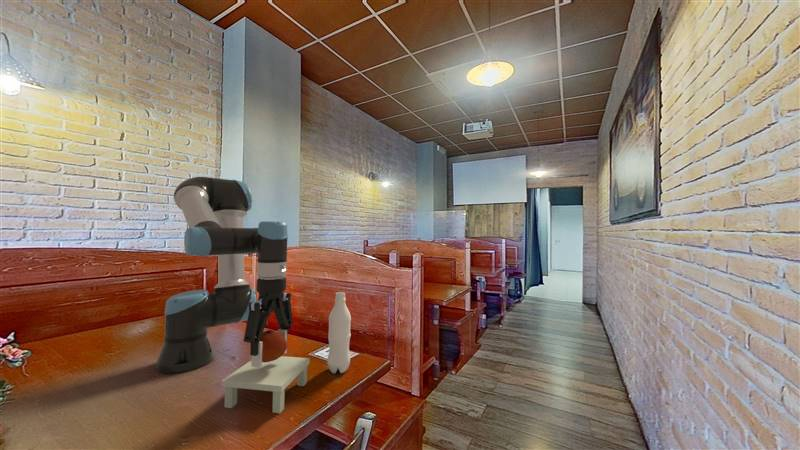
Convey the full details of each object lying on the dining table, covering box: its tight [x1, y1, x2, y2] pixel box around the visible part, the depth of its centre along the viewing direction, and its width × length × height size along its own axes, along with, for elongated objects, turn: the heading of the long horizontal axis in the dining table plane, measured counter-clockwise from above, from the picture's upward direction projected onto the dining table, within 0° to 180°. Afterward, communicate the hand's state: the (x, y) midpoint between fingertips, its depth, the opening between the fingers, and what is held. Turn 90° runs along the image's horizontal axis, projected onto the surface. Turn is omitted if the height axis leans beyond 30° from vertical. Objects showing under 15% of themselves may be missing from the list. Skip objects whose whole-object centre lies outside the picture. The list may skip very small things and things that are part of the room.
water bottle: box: [327, 291, 352, 374], centre depth 97 cm, size 7×7×25 cm
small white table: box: [221, 355, 311, 414], centre depth 82 cm, size 16×16×7 cm
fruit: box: [260, 329, 288, 362], centre depth 83 cm, size 9×9×8 cm
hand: (269, 359), depth 82 cm, fingers closed on fruit, 9 cm apart
